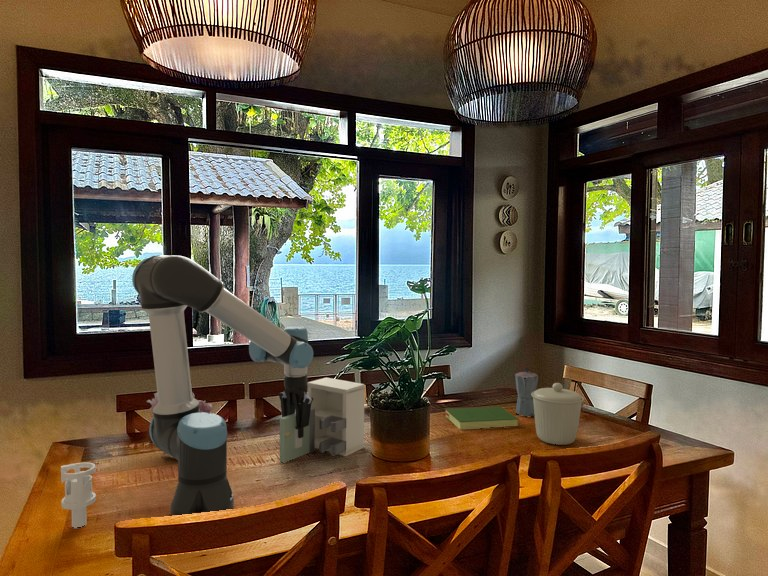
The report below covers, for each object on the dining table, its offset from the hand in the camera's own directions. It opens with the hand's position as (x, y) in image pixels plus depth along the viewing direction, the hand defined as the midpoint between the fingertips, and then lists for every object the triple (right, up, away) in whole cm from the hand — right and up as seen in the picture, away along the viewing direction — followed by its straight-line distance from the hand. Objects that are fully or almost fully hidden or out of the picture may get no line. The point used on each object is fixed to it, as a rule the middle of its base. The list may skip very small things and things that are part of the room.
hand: (295, 446), depth 169 cm
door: (0, -3, +1) cm, 4 cm away
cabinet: (+10, -3, +8) cm, 13 cm away
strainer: (-44, -5, -45) cm, 63 cm away
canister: (+91, -4, +20) cm, 93 cm away
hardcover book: (+67, -3, +42) cm, 79 cm away
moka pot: (+89, -2, +52) cm, 103 cm away
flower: (-38, -3, +4) cm, 39 cm away
